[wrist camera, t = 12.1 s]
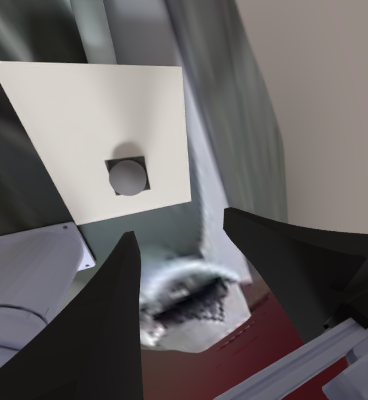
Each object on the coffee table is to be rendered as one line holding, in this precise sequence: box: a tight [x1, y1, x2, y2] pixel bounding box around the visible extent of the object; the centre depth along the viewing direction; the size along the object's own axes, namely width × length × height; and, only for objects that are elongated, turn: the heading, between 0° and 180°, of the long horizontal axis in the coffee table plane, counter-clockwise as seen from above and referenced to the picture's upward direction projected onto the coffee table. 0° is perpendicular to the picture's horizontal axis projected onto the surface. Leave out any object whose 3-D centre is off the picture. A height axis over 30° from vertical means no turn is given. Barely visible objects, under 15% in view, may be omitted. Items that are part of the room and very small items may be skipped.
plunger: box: [109, 159, 146, 196], centre depth 12 cm, size 3×3×2 cm
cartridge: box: [70, 0, 117, 65], centre depth 9 cm, size 14×3×5 cm, turn 4°
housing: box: [0, 61, 191, 225], centre depth 14 cm, size 12×12×4 cm
